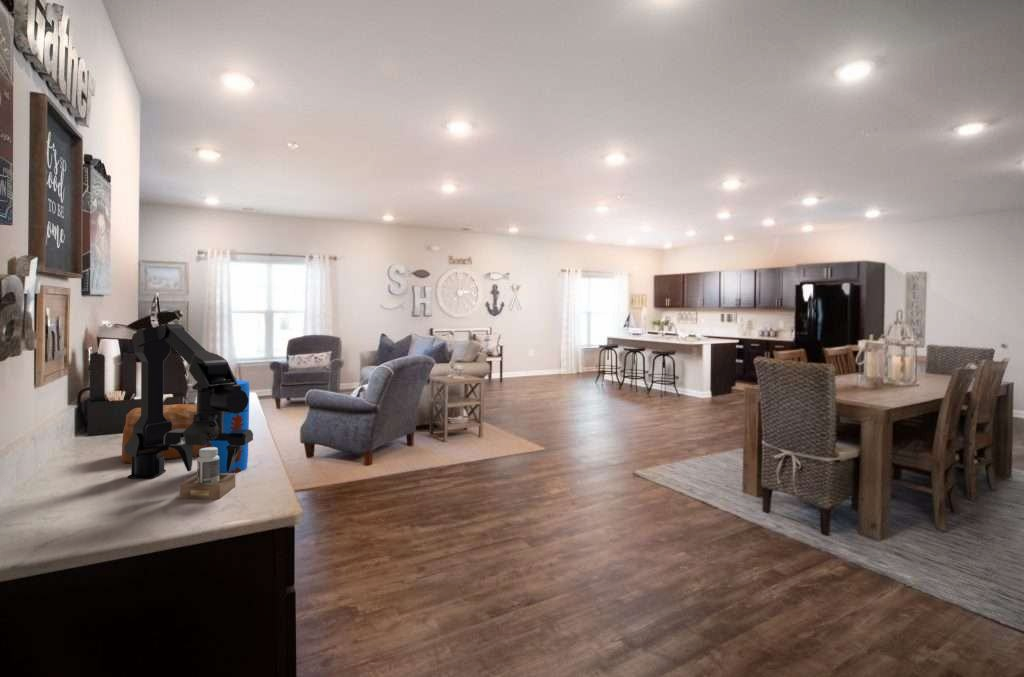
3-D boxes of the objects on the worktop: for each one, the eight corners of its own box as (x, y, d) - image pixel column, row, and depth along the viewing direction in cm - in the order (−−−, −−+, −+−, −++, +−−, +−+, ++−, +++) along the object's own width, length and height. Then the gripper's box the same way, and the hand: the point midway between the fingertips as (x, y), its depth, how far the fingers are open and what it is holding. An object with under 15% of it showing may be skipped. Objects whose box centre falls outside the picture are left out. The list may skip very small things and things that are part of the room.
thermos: (217, 477, 140) (219, 385, 139) (197, 469, 145) (198, 382, 145) (255, 468, 149) (257, 382, 148) (235, 461, 155) (236, 379, 154)
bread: (225, 454, 163) (226, 405, 162) (121, 465, 147) (122, 411, 146) (218, 444, 174) (219, 398, 173) (121, 454, 158) (122, 404, 157)
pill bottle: (223, 480, 129) (224, 447, 129) (208, 486, 125) (208, 452, 124) (208, 478, 131) (208, 445, 130) (192, 484, 126) (192, 450, 126)
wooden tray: (179, 499, 123) (179, 484, 123) (198, 486, 132) (198, 473, 132) (219, 499, 124) (219, 484, 124) (235, 486, 133) (235, 473, 133)
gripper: (150, 414, 118) (149, 481, 119) (236, 415, 120) (234, 481, 121) (176, 405, 129) (175, 467, 130) (254, 407, 131) (253, 467, 132)
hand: (208, 471), depth 128 cm, fingers open, 9 cm apart
